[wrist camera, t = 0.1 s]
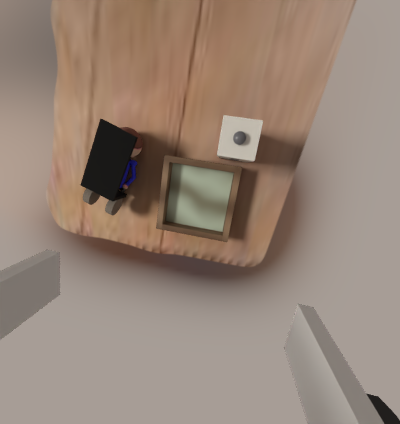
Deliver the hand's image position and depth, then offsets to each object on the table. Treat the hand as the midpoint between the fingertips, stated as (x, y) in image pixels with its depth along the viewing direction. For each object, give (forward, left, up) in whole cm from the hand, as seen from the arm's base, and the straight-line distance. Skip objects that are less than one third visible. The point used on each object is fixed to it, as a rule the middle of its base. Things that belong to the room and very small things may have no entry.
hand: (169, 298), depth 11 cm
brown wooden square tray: (-1, -2, -28) cm, 28 cm away
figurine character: (-4, -17, -28) cm, 33 cm away
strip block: (-11, +3, -28) cm, 30 cm away
